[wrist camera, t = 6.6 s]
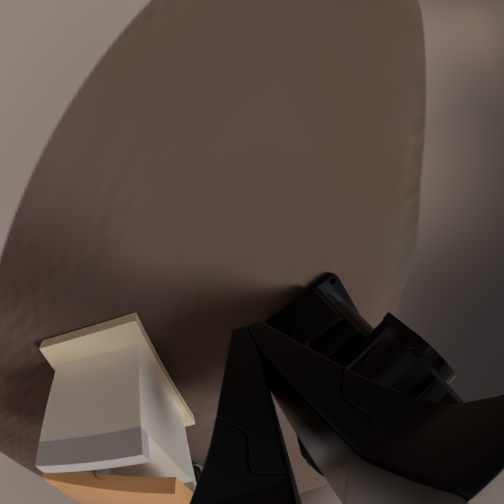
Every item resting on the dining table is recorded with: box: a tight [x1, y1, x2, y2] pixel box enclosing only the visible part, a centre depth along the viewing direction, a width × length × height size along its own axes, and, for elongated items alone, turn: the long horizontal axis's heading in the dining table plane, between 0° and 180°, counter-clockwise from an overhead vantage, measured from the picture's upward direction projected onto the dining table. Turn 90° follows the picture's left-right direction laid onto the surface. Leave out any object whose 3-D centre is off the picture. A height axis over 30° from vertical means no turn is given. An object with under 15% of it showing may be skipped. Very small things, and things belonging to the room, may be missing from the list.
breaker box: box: [35, 312, 197, 493], centre depth 17 cm, size 8×12×10 cm, turn 13°
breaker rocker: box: [42, 468, 193, 504], centre depth 13 cm, size 9×5×2 cm, turn 102°
